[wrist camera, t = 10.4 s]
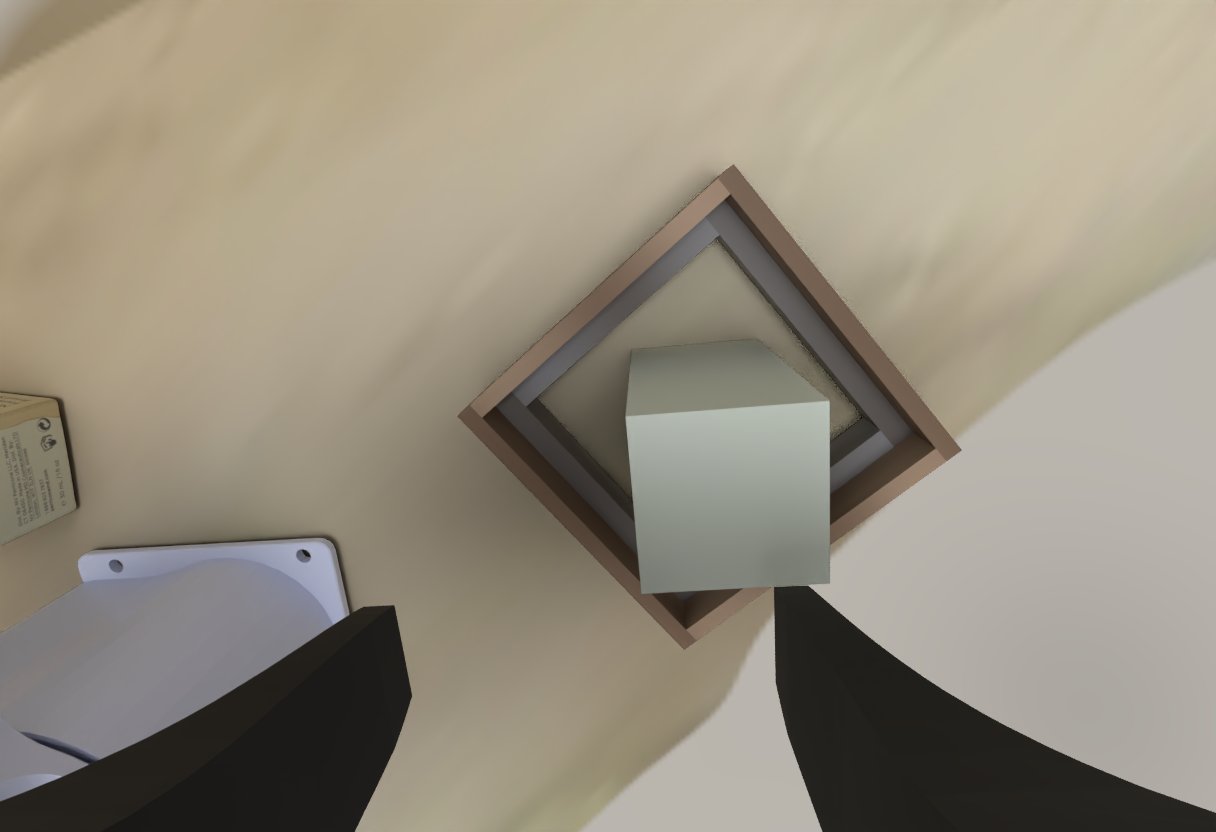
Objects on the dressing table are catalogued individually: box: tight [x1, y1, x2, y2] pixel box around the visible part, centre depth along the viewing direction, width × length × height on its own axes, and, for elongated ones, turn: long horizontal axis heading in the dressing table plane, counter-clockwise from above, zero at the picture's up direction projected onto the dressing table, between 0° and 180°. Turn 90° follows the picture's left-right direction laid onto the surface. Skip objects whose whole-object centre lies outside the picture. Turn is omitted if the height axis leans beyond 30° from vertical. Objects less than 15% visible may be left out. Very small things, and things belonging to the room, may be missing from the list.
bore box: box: [458, 164, 961, 649], centre depth 19 cm, size 10×10×3 cm
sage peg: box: [625, 339, 830, 594], centre depth 17 cm, size 4×4×8 cm
